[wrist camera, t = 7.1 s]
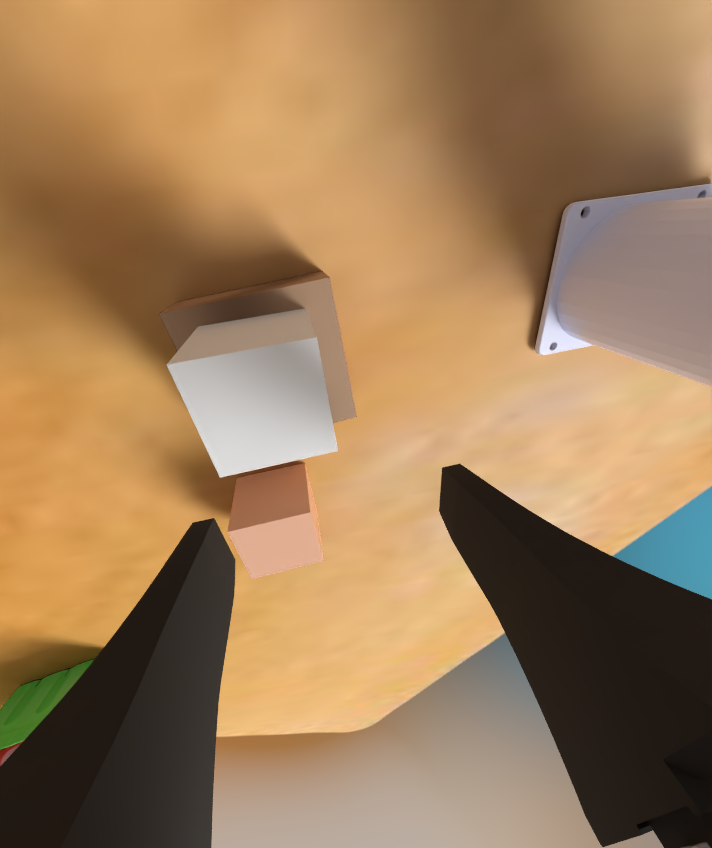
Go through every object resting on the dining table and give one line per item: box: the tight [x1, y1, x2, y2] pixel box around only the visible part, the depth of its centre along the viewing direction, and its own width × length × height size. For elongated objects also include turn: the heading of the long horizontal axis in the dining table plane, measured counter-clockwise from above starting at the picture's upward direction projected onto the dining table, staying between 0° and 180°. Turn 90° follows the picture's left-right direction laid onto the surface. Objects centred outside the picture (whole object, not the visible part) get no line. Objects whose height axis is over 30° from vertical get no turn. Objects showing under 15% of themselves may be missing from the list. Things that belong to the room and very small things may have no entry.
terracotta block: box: [228, 463, 324, 579], centre depth 20 cm, size 4×4×4 cm
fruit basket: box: [0, 659, 95, 766], centre depth 24 cm, size 11×9×11 cm
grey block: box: [167, 308, 338, 478], centre depth 13 cm, size 4×4×4 cm
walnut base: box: [159, 271, 357, 423], centre depth 16 cm, size 7×7×3 cm
